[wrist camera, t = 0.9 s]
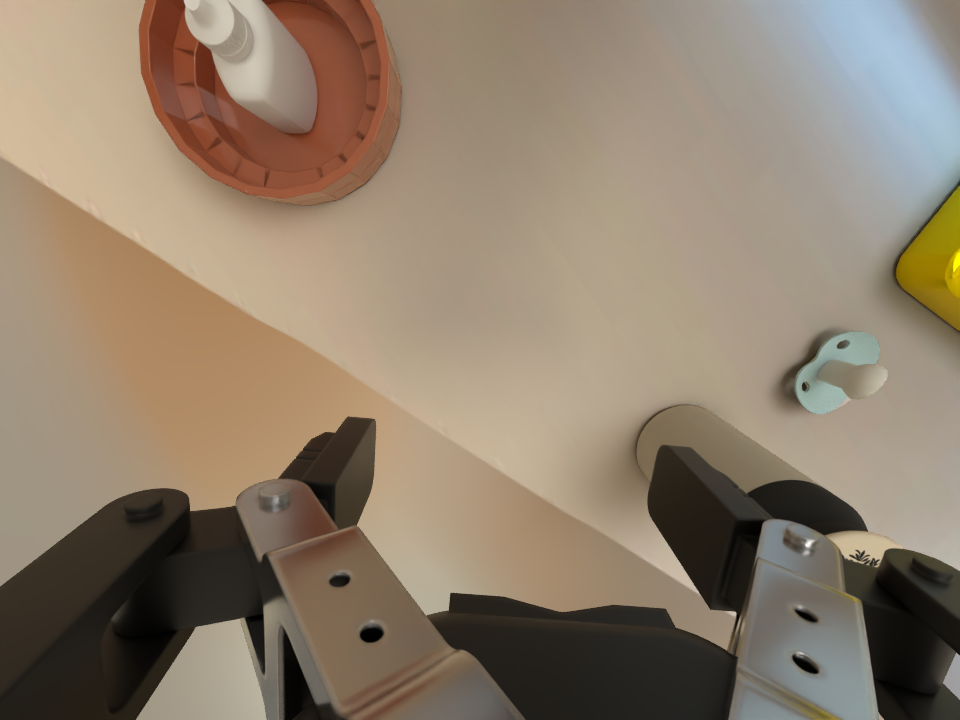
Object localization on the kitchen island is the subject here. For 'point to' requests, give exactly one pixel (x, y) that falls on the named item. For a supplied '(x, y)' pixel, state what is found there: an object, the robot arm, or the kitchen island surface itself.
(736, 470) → the travel mug
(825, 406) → the pacifier
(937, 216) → the element tile
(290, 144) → the bowl
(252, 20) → the eye dropper bottle
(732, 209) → the kitchen island surface
